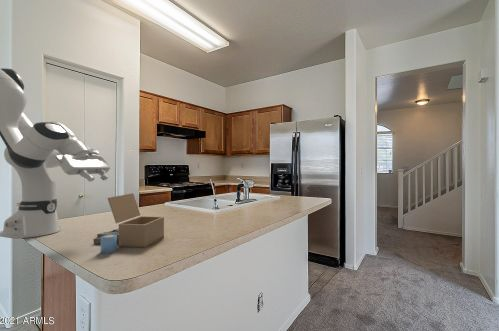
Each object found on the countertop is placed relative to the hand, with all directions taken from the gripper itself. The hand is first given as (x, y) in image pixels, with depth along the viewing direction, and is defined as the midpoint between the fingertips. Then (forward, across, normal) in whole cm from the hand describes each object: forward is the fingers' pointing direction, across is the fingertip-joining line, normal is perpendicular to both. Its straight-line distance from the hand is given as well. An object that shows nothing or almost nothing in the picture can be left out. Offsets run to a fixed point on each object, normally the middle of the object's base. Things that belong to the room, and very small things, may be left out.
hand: (99, 179), depth 98 cm
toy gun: (+20, +5, +14) cm, 25 cm away
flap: (+15, 0, -1) cm, 15 cm away
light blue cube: (+26, -12, +7) cm, 29 cm away
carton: (+30, 0, +4) cm, 30 cm away
